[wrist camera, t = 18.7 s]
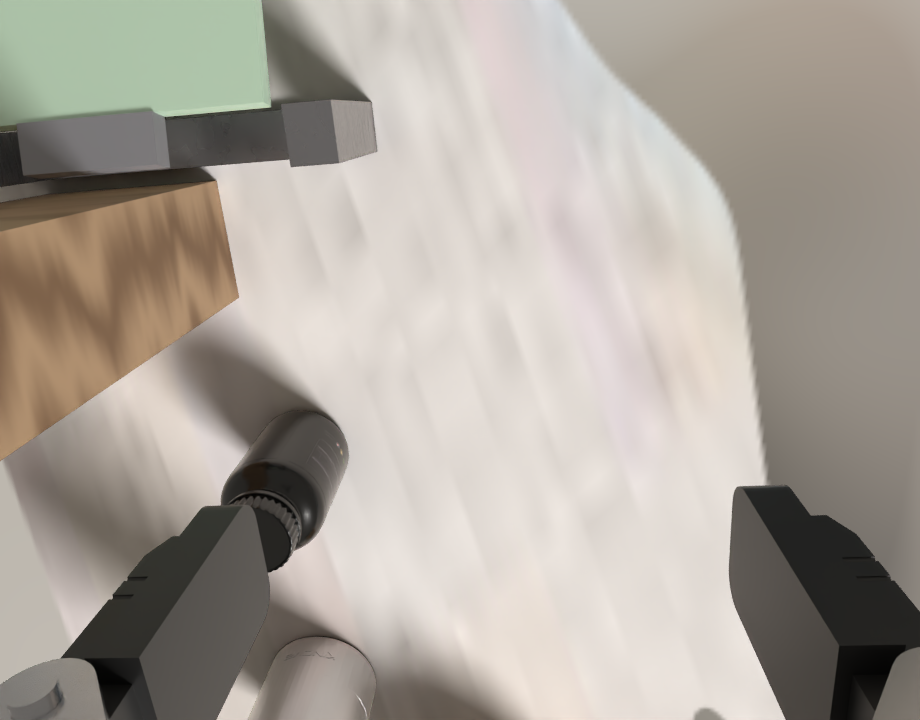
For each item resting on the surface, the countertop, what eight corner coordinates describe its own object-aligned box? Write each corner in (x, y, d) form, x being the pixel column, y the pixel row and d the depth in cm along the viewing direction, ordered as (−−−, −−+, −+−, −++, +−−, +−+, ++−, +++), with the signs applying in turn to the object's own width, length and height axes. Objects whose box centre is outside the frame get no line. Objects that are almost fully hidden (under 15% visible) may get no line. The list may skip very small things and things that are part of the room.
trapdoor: (276, 159, 34) (267, 155, 33) (-60, 187, 36) (-80, 183, 35) (247, -155, 33) (237, -172, 31) (-103, -111, 34) (-125, -125, 33)
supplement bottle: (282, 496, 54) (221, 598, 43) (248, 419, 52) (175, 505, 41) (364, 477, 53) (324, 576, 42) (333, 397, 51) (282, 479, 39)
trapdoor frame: (377, 151, 44) (339, 163, 35) (28, 180, 47) (-100, 198, 37) (371, 102, 44) (330, 99, 34) (15, 133, 46) (-121, 140, 36)
